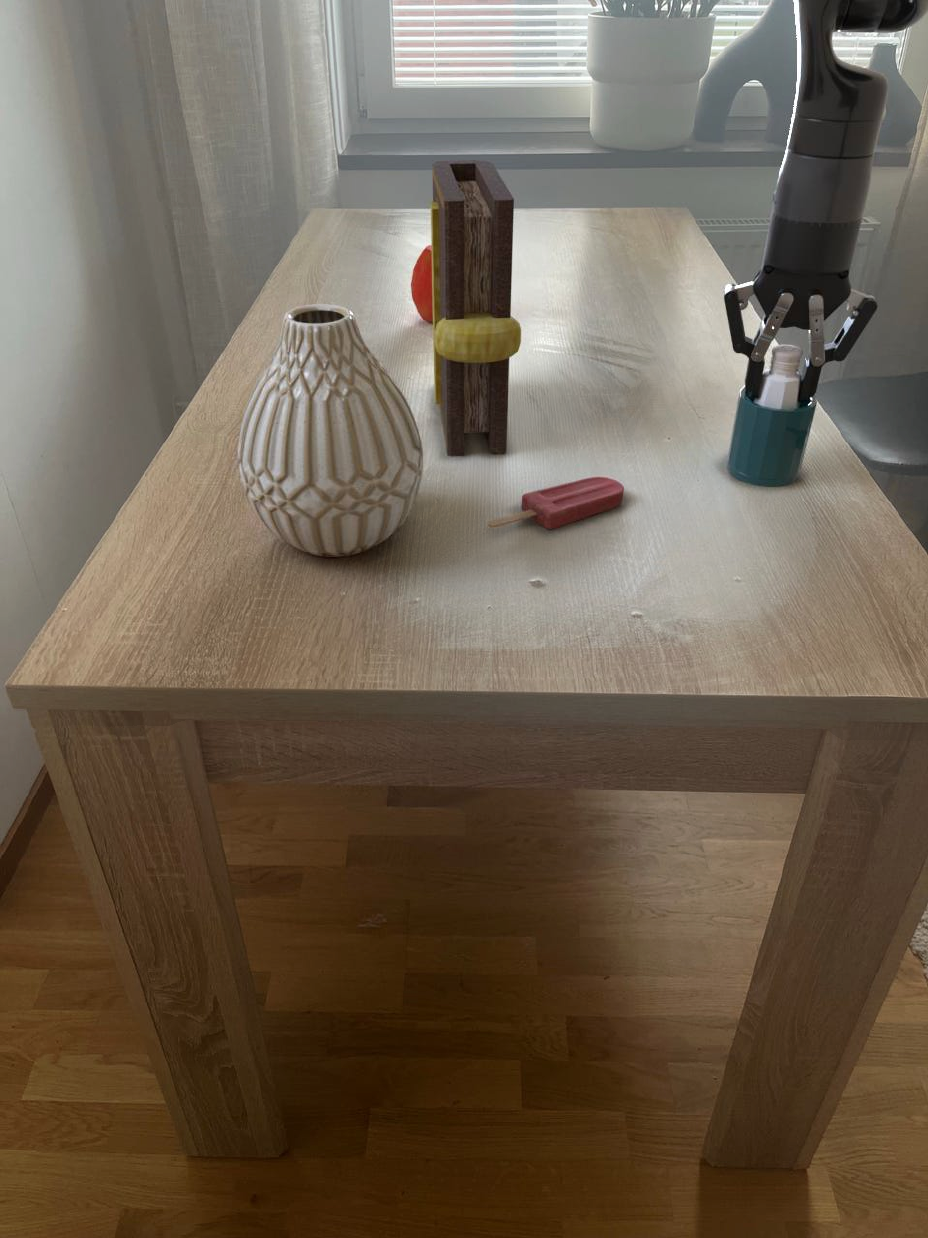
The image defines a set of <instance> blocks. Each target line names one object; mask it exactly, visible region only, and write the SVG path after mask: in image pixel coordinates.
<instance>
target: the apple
mask: <svg viewBox="0 0 928 1238" xmlns="http://www.w3.org/2000/svg"><path fill="white" fill-rule="evenodd" d="M410 290H411V298H412V302H413V304H414V306H415V309H416V311H417V313H418V315H419V316H420V317H421V319H422V320H423V321H426V322H428V323H431V324H433V297H432V247H431V244H428V245H426V247H425V248H424V249H423V250H422V251H421V253H420V255H419V256H418V258H417V260H416V262H415V265H414V266H413V269H412V275H411V281H410Z"/></svg>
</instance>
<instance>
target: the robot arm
mask: <svg viewBox="0 0 928 1238" xmlns="http://www.w3.org/2000/svg"><path fill="white" fill-rule="evenodd" d="M793 2H794V14H795V25H796V35H797V36H796V38H797V39H796V40H797V81H796V94H795V99H794V105H793V106H794V107H793V114H792V117H791V124H790V128H789V129H790V130H789V135H788V139H787V145H786V150H785V154H784V157H783V161H782V165H781V167H780V169H779V173H778V177H777V182H776V187H775V191H774V193H773V197H772V210H771V214H770V219H769V225H768V230H767V234H766V235H767V237H766V241H765V248H764V251H763V252H764V253H763V257H762V263H761V266H760V269H759V271H758V273H757V274H756V275H755V276H754V278H753V281H749V282H746V283H743V284H740V285H736V284H735V283H728V284H727V285H725V286H724V289H723V301H724V307H725V311H726V317H727V323H728V324H727V325H728V328H729V334H730V340H731V346H732V351H733V352H734V353H735V354H742V355H744V356H745V357H747V359H748V361H747V365H746V372H745V377H744V386H745V389H746V392H750V398H757V399H758V395H759V390H760V385H761V380H762V375H763V373H764V370H765V365H766V361H765V357H766V354H767V352H768V351H769V348H770V346H771V344H772V342H773V341H774V340H775V338H776V336H777V334H778V332H779V330H780V329H787V328H797V329H801V330H803V331H807V334H808V351H809V353H808V357H807V358H805V360H804V363H803V367H802V372H801V375H802V381H801V388H800V393H799V399H798V402H802V403H806V402H807V398H808V397H813V396H816V394H817V390H818V386H819V381H820V377H821V372H822V369H823V367H824V366H825V364H827V363H830V362H834V361H835V362H839V363H840V362H843V361H844V360H846V358H847V357H848V355H849V353H850V352H851V350H852V349H853V348H854V346H855V344H856V343H857V341H858V340H859V338H860V336H861V335H862V334H863V331H864V330H865V328H866V327H867V325H869V322H870V321H871V319H872V318H873V316H874V314H875V312H876V311H877V310H878V302H877V300H876V298H875V295H874V294H873V293H871V292H865V293H863V292H861V291H859V290H856V289H854V288H852V285H851V282H850V270H851V267H852V263H853V259H854V255H855V250H856V246H857V242H858V237H859V234H860V229H861V225H862V220H863V216H864V212H865V209H866V205H867V200H868V195H869V191H870V188H871V187H870V186H871V181H872V172H873V171H872V170H873V163H874V157H875V152H876V148H877V144H878V140H879V135H880V131H881V128H882V124H883V123H882V122H883V118H884V114H885V111H886V106H887V101H888V97H889V88H890V87H889V85H890V84H889V81H888V80H889V79H888V78H887V76H885V74H883V73H881V72H880V71H878V70H874V69H871V68H867V67H863V66H859V65H856V64H853V63H852V64H851V63H849V62H847V61H844V60H842V59H840V58H839V57H838V56H837V54H836V53H835V49H834V45H833V35H834V33H838V32H839V33H868V34H869V33H870V34H871V33H875V34H890V33H899V32H902V31H905V30H908V29H909V28H911V27H913V26H914V25H916V24H917V23H919V22H920V21H921V20H922V19H923V18H924V17H925V16H926V15H927V14H928V0H793ZM752 296H755V298H756V299H757V302H758V303H759V305H760V307H761V309H762V311H763V313H764V315H763V317H762V319H761V321H760V324H759V327H758V328H757V329H758V330H757V332H756V334H755V336H754V338H750V337H748V336H747V335H746V331H745V326H744V320H743V314H742V311H744V310H746V309H747V307H749V300H750V298H751V297H752ZM845 302H847V306H846V313H847V315H848V317H847V318H846V320H845V322H844V323H843V325H842V326H841V328H840V329H839V331H838V333H837V334H836V335H835V337H834V338H833V340H832V342H831V343H827V344H826V343H825V341H826V340H825V321H826V320H828V318H829V317H831V315H832V314H833V313H834V312H836V310H838V309H839V308H840V306H842V305H843V304H844V303H845Z"/></svg>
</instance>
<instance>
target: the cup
mask: <svg viewBox="0 0 928 1238" xmlns="http://www.w3.org/2000/svg"><path fill="white" fill-rule="evenodd" d="M754 400H755V398H750V392H746V389H745V385H744V386H743V387H742V388H741V389H740V390H739V392H738V398H737V403H736V408H735V415H734V420H733V425H732V431H731V435H730V442H729V445H728V451H727V459H726V460H727V461H726V470H727V471H728V473H729V474H730V475H731V476H733V477H734V478H735V479H737V480H739V481H742V482H744V483H747V484H751V485H754V486H761V487H781V486H786V485H790V484H792V483H794V482H796V481H797V480H798V478H799V476H800V472H801V470H802V468H803V467H802V466H803V462H804V460H805V459H804V458H805V455H806V450H807V445H808V441H809V438H810V433H811V429H812V425H813V420H814V418H815V417H814V416H815V412H816V408H817V404H818V401H817V400H818V399H817V397H816V395H814V396H813V397H808V398H807V402H806V403H802V402H799V408H798V409H774V408H770V407H765V406H761V405H759V404H756V403H754Z"/></svg>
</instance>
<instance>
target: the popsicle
mask: <svg viewBox="0 0 928 1238" xmlns="http://www.w3.org/2000/svg"><path fill="white" fill-rule="evenodd" d="M624 492H625V487H624V486H623V484H622V482H620V481H618V480H616V479H613V478H611V477H606V476H593V477H587V478H583V479H579V480H574V481H569V482H566V483H562V484H558V485H554V486H551V487H546V488H542V489H539V490H534V491H529V492H527V493H526V492H525V493H523V494H522V495H521V512H520V511H519V512H517V513H513V514H510V515H507V516H504V517H500V518H497V519H496V518H495V519H493V520H490V521H489V522H488V524H487V525H488V527H490V528H499V527H501V526H504V525H508V524H512V523H515V522H518V521H522V520H525V519H528V518H531V519H533V520H534V521H535V522H537V523H538V524H540V526H542V527H543V528H545V529H546V530H553V529H556V528H559V527H563V526H565V525H567V524H570V523H573V522H576V521H579V520H582V519H585V518H587V517H588V518H589V517H591V516H593V515H597V514H599V513H603V512H606V511H607V510H608V511H609V510H611V509H615V508H616V507H618V506H619V505H621V504H622V502H623V499H624Z"/></svg>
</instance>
